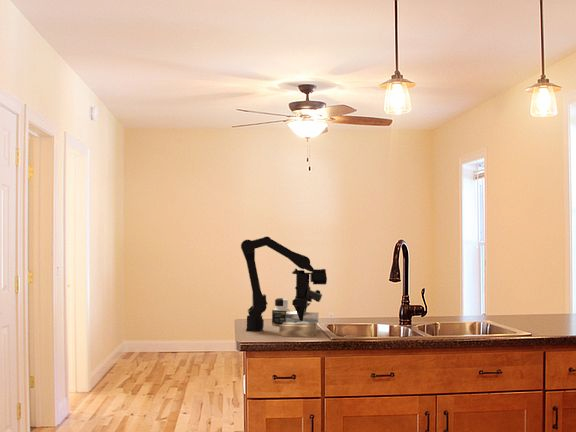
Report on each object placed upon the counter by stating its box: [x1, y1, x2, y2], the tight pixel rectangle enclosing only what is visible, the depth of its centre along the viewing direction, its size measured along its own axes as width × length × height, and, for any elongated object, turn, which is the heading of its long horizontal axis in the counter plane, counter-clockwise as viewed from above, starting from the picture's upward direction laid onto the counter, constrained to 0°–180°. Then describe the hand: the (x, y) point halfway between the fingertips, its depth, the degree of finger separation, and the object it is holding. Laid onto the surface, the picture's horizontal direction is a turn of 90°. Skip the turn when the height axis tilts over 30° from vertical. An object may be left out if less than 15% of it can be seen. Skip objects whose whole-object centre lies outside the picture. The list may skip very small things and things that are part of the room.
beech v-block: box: [278, 322, 317, 338], centre depth 286 cm, size 14×11×4 cm
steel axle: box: [286, 311, 320, 324], centre depth 298 cm, size 14×4×4 cm, turn 81°
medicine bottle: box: [271, 297, 292, 326], centre depth 316 cm, size 7×7×12 cm
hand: (302, 320), depth 298 cm, fingers closed on steel axle, 4 cm apart
